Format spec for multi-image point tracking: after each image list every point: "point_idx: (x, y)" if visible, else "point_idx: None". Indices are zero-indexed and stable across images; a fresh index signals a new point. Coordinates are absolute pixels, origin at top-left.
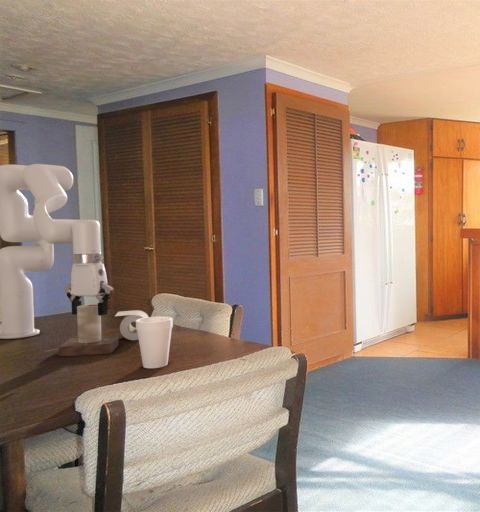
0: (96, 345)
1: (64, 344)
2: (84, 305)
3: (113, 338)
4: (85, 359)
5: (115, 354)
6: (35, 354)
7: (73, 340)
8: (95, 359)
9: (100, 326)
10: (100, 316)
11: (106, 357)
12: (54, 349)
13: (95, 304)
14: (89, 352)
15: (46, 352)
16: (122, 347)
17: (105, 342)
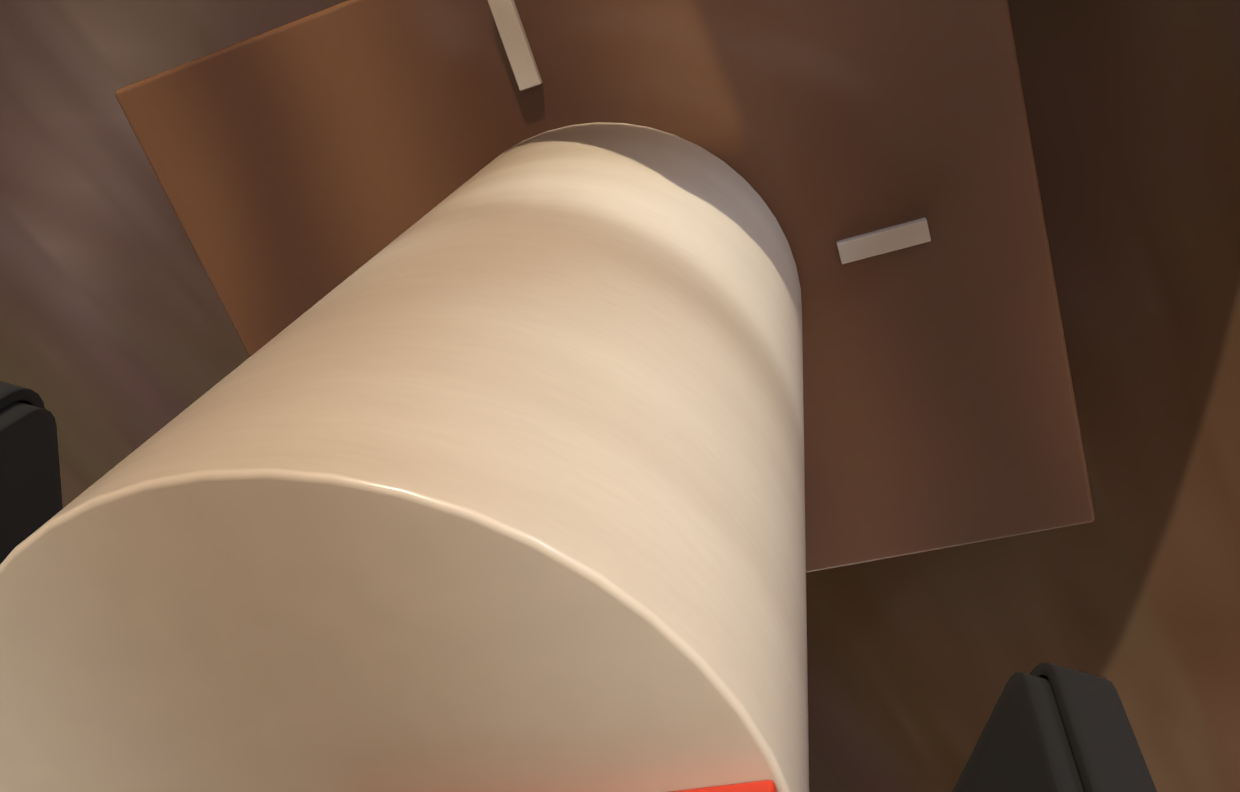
0: (874, 552)
1: None
2: (86, 734)
3: (968, 80)
4: (846, 692)
5: (1152, 486)
6: (85, 456)
7: (306, 277)
8: (974, 700)
9: (800, 402)
10: (795, 518)
11: (1080, 625)
12: (77, 196)
13: (340, 495)
14: None
15: (123, 363)
16: (1101, 14)
17: (961, 427)
